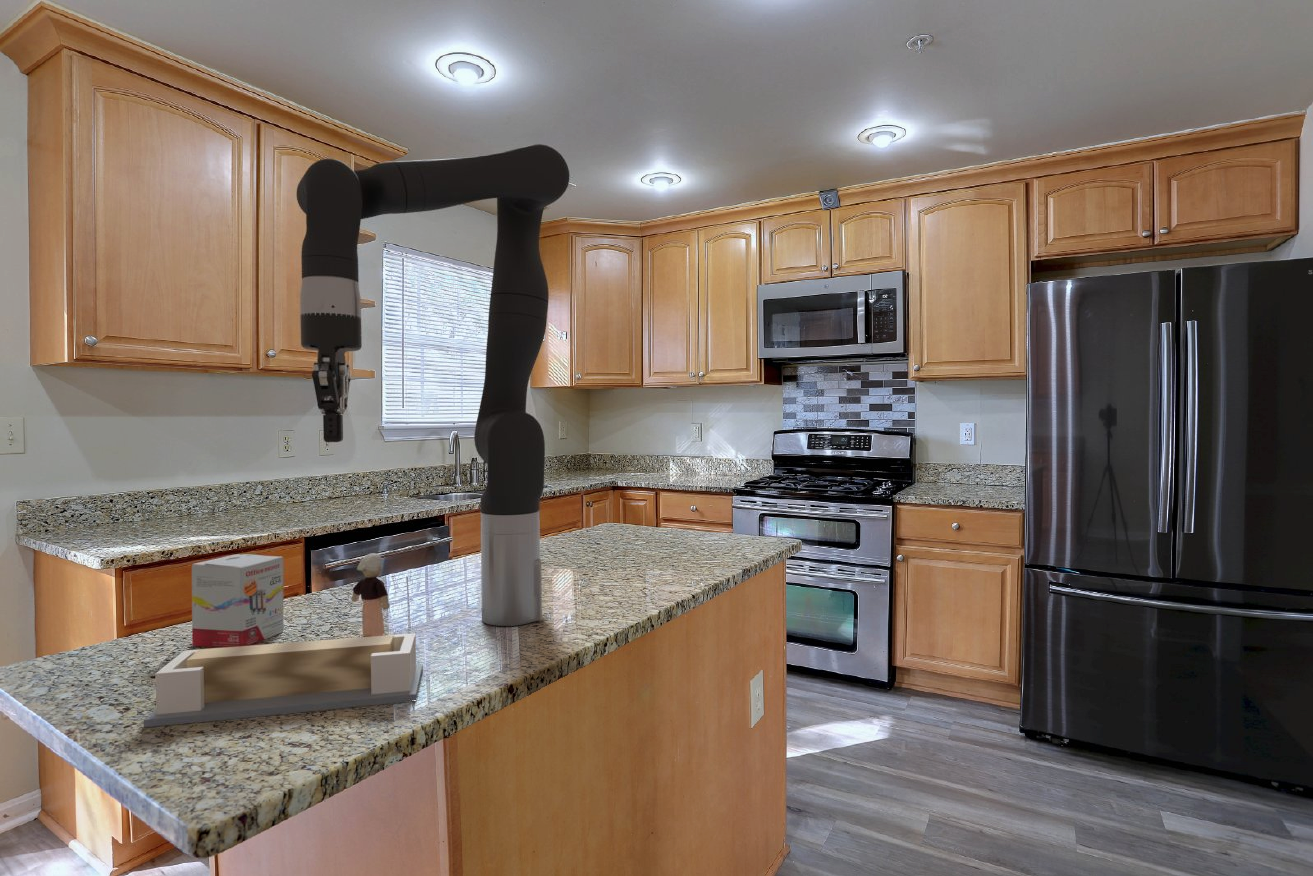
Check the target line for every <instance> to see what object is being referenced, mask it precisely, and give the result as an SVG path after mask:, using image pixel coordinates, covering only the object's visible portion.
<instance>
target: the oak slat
mask: <svg viewBox="0 0 1313 876" xmlns="http://www.w3.org/2000/svg"><path fill="white" fill-rule="evenodd" d="M385 635H386V636H372V637H363V636H362V637H361V636H360V637H349V638H346V637H345V638H335V639H321V640H309V641H306V640H305V641H294V642H282V643H281V642H280V643H268V644H253V645H251V646H239V647H226V648H219V647H211V648H201V649H199V650H198V649H197V650H198V651H197V652H196V653H194V654H193V655H192V656H191V657H190V658H188V659H187V668H195V667H204V703H212V702H223V701H234V700H245V699H256V698H267V697H278V696H289V695H299V694H310V693H321V692H332V691H343V690H354V689H365V688H371V655H372V653H381V652H394V635H395V634H389V635H387V634H385Z"/></svg>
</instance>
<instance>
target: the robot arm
mask: <svg viewBox="0 0 1313 876" xmlns="http://www.w3.org/2000/svg"><path fill="white" fill-rule="evenodd" d="M570 175H571V174H570V170H569V167H568V164H567V162H566V160H565V158H564V156H563V155H562V154H561V153H560V152H559V151H558V150H556V149H555V148H553V147H551V146H549V145H545V144H541V143H535V144H534V143H533V144H530V145H526V146H523V147H518V148H515V149H511V150H507V151H506V150H505V151H502V152H496V153H491V154H486V155H485V154H484V155H478V156H477V155H475V156H469V157H457V158H456V157H455V158H443V159H422V160H421V159H420V160H419V159H418V160H417V159H416V160H398V161H396V160H395V161H393V160H392V161H381V162H378V163H375V164H373V165H371V166H370V167H369V166H368V167H367V168H365V169H364V168H363V169H356V170H354V169H352V167H350V166H349V165H348V164H346V162H343V161H341V160H339V159H336V158H322V159H320V160H317V161H315V162H313V163H312V164H311V165H310V166H309V167H308V169H307V170H306V171H305V173H304V174H303V175H302V177H301V178H300V181H299V182H298V185H297V187H296V200H297V204H298V206H299V208H300V209H301V211H302V212H303V213H304V215H305V216H306V217H305V225H306V226H305V227H306V231H305V235H304V237H303V238H304V239H303V240H302V245H301V254H300V255H301V256H300V257H301V287H300V294H299V310H300V311H299V316H300V345H301V347H302V348H303V349H305V350H309V351H317V359H316V360H317V361H316V362H313V366H312V367H313V370H312V372H311V378H312V381H313V386H314V392H315V397H316V402H317V407H318V410H320V413H321V415H322V418H323V419H322V420H323V424H322V425H323V427H322V428H323V441H324V442H325V443H339V442H342V441H343V439H344V421H343V417H344V415H345V413H346V410H347V408H348V398H349V391H350V383H351V377H350V376H351V365H350V364H349V363H348V364H347V362H346V355H345V354H346V353H347V352H358V351H359V350H361V349H362V338H363V337H362V299H361V293H360V292H361V291H360V284H359V282H360V281H359V280H360V279H359V256H358V253H359V252H358V242H359V238H360V237H359V236H360V229H361V223H362V222H361V221H362V220H365V219H370V218H373V217H378V216H383V215H395V214H396V215H397V214H398V215H399V214H409V213H410V214H411V213H421V212H431V211H437V210H443V209H447V208H452V207H455V206H460V205H465V204H469V203H472V202H473V203H474V202H478V201H483V200H491V199H496V213H497V214H496V217H497V219H496V221H497V223H496V224H497V226H496V229H497V230H496V231H497V233H496V243H495V251H494V260H493V261H494V262H493V270H492V271H493V272H492V281H491V289H490V297H489V298H490V299H489V306H488V307H489V308H488V316H487V317H488V322H487V324H488V325H487V336H486V349H485V371H484V382H483V388H482V393H481V399H480V404H479V408H478V413H477V420H476V424H475V429H474V438H473V439H474V446H475V449H476V452H477V453H478V456H479V457H480V458H481V460H482V461H483V462H485V464H486V463H487V479H486V482H487V483H486V486H485V490H484V492H483V493H482V494H481V495H480V565H481V566H480V569H481V571H480V574H481V575H480V583H481V584H480V585H481V592H480V593H481V620H482V622H483V623H484V624H487V625H489V626H490V625H491V626H497V627H498V626H499V627H502V626H503V627H511V626H512V627H513V626H520V625H521V626H522V625H526V624H530V623H533V622H541V621H543V611H542V610H543V609H542V608H543V605H542V603H543V600H542V599H543V598H542V597H543V595H542V591H543V587H542V584H543V583H542V577H543V576H542V559H541V536H540V535H541V532H540V530H541V529H540V528H541V527H540V525H541V524H540V522H541V520H540V507H541V506H540V503H541V502H540V501H541V499H542V495H543V492H544V488H545V487H544V486H545V468H546V467H545V466H546V465H545V463H546V461H545V460H546V459H545V458H546V447H545V445H546V442H545V435H544V431H543V428H542V426H541V424H540V423H539V421H538V420H537V419H536V417H534V415H532V414H531V413H528V412H527V394H528V386H529V382H530V379H531V378H530V377H531V375H532V371H533V368H534V366H535V364H536V361H537V358H538V357H539V354H540V350H541V348H542V345H543V342H544V338H545V335H546V330H547V323H548V322H547V321H548V311H549V310H548V309H549V297H550V296H549V295H550V294H549V284H548V280H547V275H546V272H545V268H544V265H543V261H542V257H541V253H540V252H541V251H540V233H541V225H542V219H543V213H544V209H545V208H546V207H548V206H549V205H551V204H554V203H556V201H558V200H559V199H560V198H561V197H563V195H564V194H565V193H566V191H567V188H568V187H569V184H570Z"/></svg>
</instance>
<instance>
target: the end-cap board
mask: <svg viewBox="0 0 1313 876" xmlns="http://www.w3.org/2000/svg"><path fill="white" fill-rule="evenodd" d="M384 635H385V636H386V635H387V634H384ZM393 635H394V652H381V653H372V655H371V688H365V689H354V690H343V691H332V692H321V693H310V694H299V695H289V696H278V697H267V698H256V699H245V700H234V701H223V702H212V703H204V667H195V668H187V659H188V658H190V657H191V656H192V655H193V654H194V653H196V652H197V651H198V650H199V649H188V650H187V649H186V650H183V651H181V653H179V654H178V655H177V656H176V657H174V658H173V659H171V661H169V662H168V663H167V664H166V665H165V666H163V667H161V669H159V670H158V671H157V672H156V673H154V674H155V675H154V676H155V709H154V710H152V712H151V713H150V714H149V715H147V716H146V717H145V718H144V719H143V728H151V727H153V728H154V727H163V726H174V725H183V724H192V723H193V724H195V723H204V722H206V723H207V722H214V721H223V720H233V719H234V720H236V719H245V718H255V717H267V716H274V715H275V716H276V715H286V714H296V713H308V712H316V711H327V710H328V711H329V710H337V709H338V710H339V709H347V708H357V707H368V706H379V705H389V704H390V705H391V704H400V703H407V702H406V701H411V702H413V701H412V700H416V701H417V699H416V698H418V693H419V689H420V685H421V680H422V675H423V671H424V669H423V667H424V665H423V663H419V664H417V648H416V647H417V646H416V645H417V643H416V640H417V638H416V637H417V636H416V635H417V634H416V633H415V632H414V633H399V634H398V633H397V634H393Z"/></svg>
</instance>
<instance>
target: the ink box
mask: <svg viewBox="0 0 1313 876" xmlns="http://www.w3.org/2000/svg"><path fill="white" fill-rule="evenodd" d="M191 619H192V620H191V624H192V625H191V628H192V629H191V630H192V631H191V635H192V636H191V637H192V638H191V639H192V640H191V641H192V645H193V646H195V647H207V648H208V647H209V648H226V647H239V646H252V645H257V644H258V643H261V642H262V641H265V640H268V639H269V638H270V639H271V638H272V637H274V636H277V635H279V634H282V633H283V632H284V626H285V625H284V557H283V556H276V555H260V554H253V553H251V554H250V553H245V554H244V553H243V554H242V553H241V554H240V553H237V554H231V555H227V556H223V557H218V558H215V559H210V560H209V559H208V560H205V561H204V560H203V561H201V562H200V561H199V562H196V563H192V565H191Z"/></svg>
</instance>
